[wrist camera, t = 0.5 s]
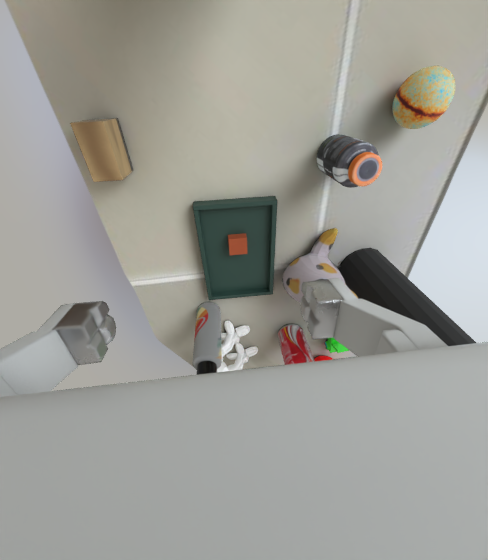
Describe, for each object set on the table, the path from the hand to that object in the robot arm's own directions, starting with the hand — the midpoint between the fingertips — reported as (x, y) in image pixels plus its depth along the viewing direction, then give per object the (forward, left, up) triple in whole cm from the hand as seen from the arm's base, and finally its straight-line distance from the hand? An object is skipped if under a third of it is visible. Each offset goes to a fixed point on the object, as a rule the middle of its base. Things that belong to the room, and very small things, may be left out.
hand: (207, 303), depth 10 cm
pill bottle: (+1, +20, -36) cm, 41 cm away
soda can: (+45, +16, -36) cm, 60 cm away
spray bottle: (+34, -5, -36) cm, 50 cm away
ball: (-6, +30, -36) cm, 47 cm away
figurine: (+21, +19, -36) cm, 46 cm away
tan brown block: (-2, -15, -35) cm, 38 cm away
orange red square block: (+16, +3, -35) cm, 38 cm away
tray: (+18, +3, -35) cm, 40 cm away
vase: (+25, +31, -36) cm, 53 cm away
